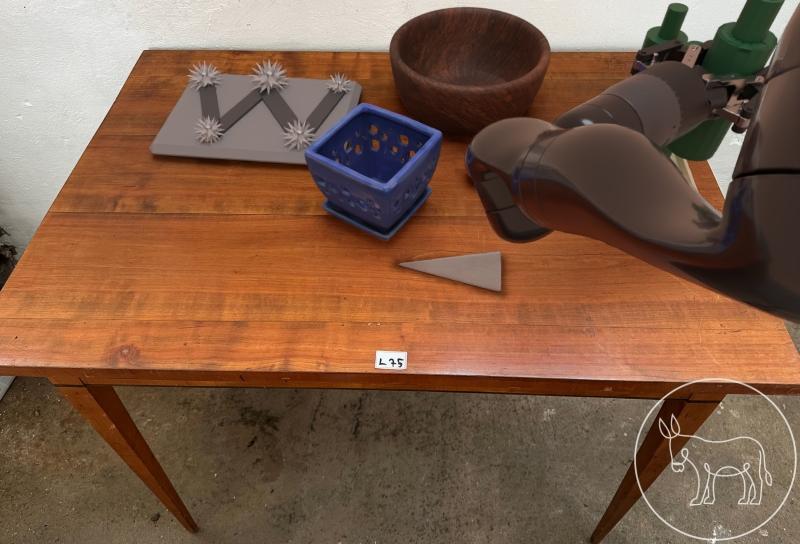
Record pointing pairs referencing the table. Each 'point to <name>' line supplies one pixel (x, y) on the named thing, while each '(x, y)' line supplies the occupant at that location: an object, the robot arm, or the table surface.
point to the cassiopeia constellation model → (253, 115)
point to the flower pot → (374, 169)
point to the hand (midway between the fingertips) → (744, 59)
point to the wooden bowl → (467, 67)
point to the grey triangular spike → (465, 269)
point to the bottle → (732, 70)
